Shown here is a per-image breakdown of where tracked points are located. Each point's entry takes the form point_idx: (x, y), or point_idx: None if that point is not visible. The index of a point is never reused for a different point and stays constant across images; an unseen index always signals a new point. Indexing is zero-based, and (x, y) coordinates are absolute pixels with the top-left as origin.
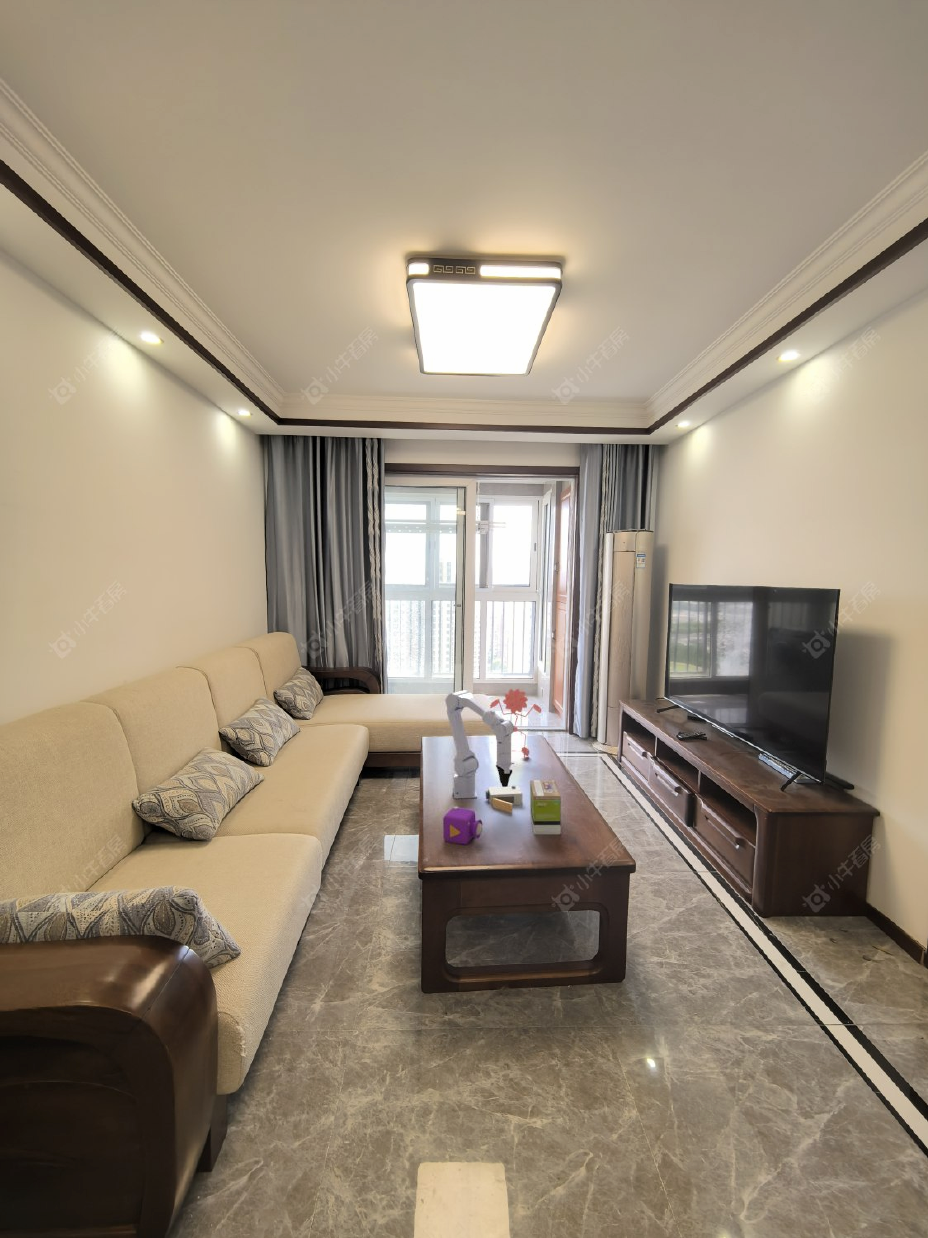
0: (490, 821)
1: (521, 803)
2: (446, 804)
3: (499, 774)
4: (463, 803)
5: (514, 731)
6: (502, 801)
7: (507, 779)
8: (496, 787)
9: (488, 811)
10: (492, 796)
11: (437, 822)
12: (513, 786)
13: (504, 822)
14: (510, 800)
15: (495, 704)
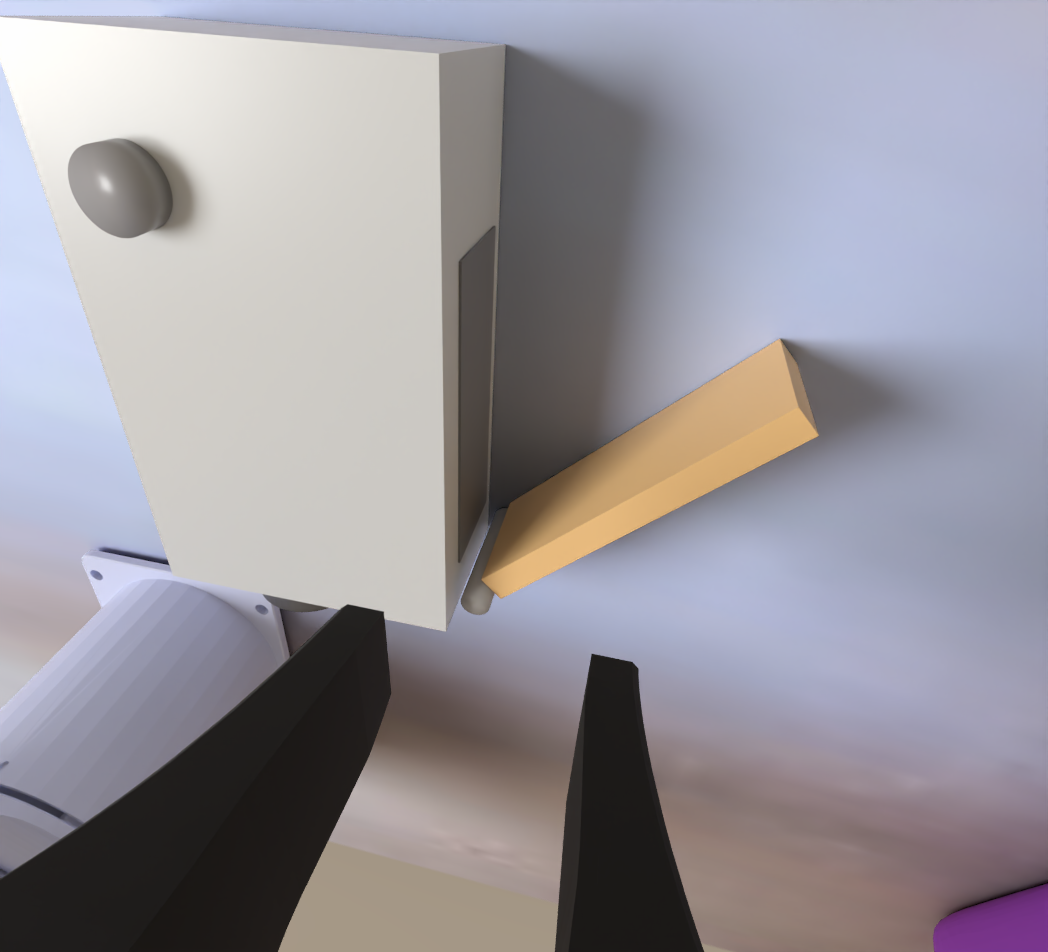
0: (909, 656)
1: (500, 66)
2: (411, 798)
3: (279, 937)
4: (400, 708)
5: None
6: (641, 521)
7: (632, 887)
8: (168, 481)
9: (636, 592)
10: (453, 595)
11: (718, 920)
12: (109, 194)
13: (1041, 538)
14: (481, 304)
15: None
